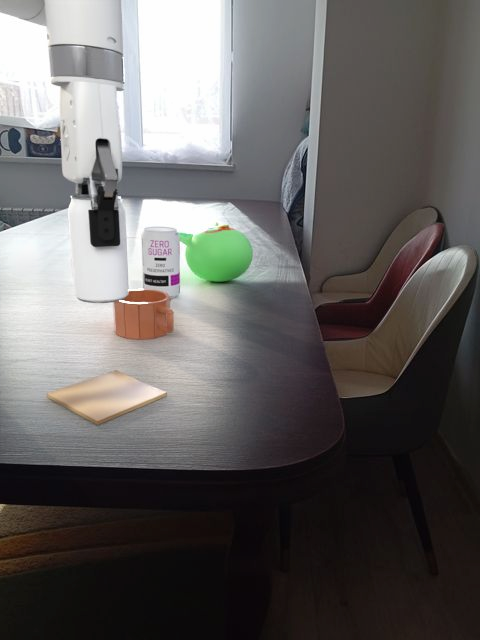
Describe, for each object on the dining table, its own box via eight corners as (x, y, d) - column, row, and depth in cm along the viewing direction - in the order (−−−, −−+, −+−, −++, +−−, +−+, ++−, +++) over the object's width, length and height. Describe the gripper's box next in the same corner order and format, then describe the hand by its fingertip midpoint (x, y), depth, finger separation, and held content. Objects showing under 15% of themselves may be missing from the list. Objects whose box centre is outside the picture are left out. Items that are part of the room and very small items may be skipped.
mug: (103, 330, 93) (101, 295, 91) (145, 318, 101) (144, 286, 98) (151, 348, 86) (150, 310, 84) (192, 334, 94) (192, 300, 91)
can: (135, 291, 67) (131, 196, 62) (120, 305, 61) (115, 200, 56) (85, 289, 67) (78, 193, 63) (66, 302, 61) (56, 197, 56)
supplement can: (169, 289, 123) (168, 225, 118) (186, 297, 117) (185, 230, 111) (137, 293, 118) (135, 226, 113) (153, 301, 112) (151, 232, 107)
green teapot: (218, 292, 123) (219, 229, 118) (169, 279, 132) (168, 221, 127) (263, 280, 137) (266, 224, 131) (216, 270, 146) (217, 217, 141)
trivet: (46, 397, 67) (46, 393, 67) (115, 373, 76) (115, 369, 76) (97, 425, 61) (97, 421, 61) (166, 396, 70) (166, 392, 69)
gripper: (38, 75, 60) (53, 231, 66) (65, 57, 46) (80, 255, 52) (104, 83, 64) (111, 229, 70) (147, 67, 50) (151, 252, 56)
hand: (98, 239), depth 61 cm, fingers closed on can, 6 cm apart
